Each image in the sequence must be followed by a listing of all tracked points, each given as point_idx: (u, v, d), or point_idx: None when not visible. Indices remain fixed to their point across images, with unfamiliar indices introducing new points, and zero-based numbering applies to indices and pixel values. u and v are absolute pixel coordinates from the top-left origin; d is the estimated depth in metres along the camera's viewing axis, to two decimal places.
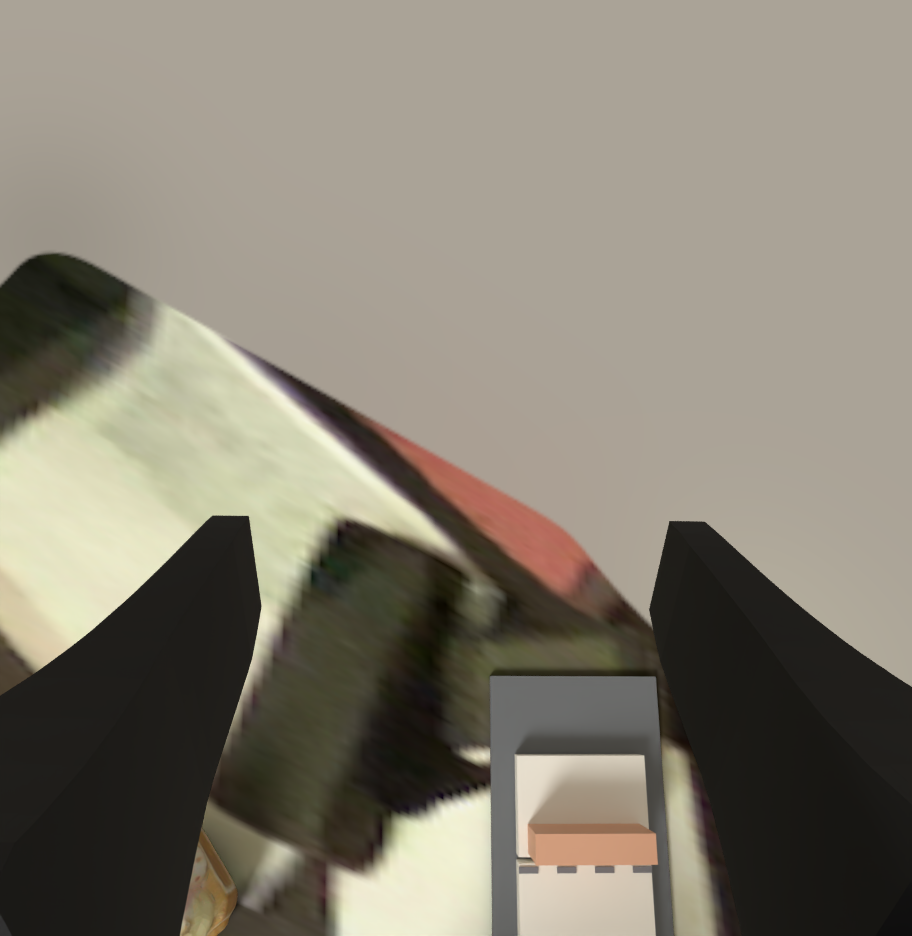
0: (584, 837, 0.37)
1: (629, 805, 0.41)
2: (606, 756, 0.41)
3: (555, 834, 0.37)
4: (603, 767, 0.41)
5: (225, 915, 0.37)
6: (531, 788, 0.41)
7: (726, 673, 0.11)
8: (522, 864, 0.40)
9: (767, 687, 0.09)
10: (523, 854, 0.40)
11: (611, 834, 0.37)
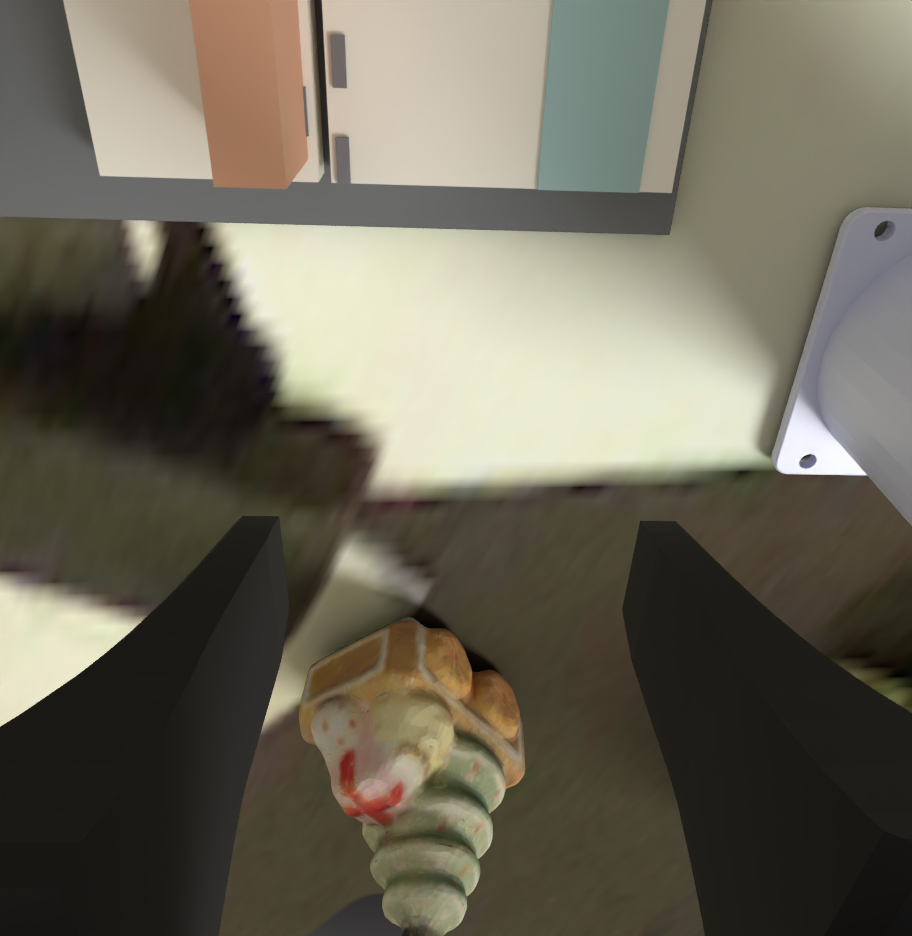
0: (202, 44, 0.13)
1: None
2: None
3: (208, 131, 0.14)
4: None
5: (412, 671, 0.24)
6: (166, 143, 0.17)
7: (691, 673, 0.11)
8: (332, 174, 0.17)
9: (728, 687, 0.09)
10: (311, 171, 0.17)
11: None
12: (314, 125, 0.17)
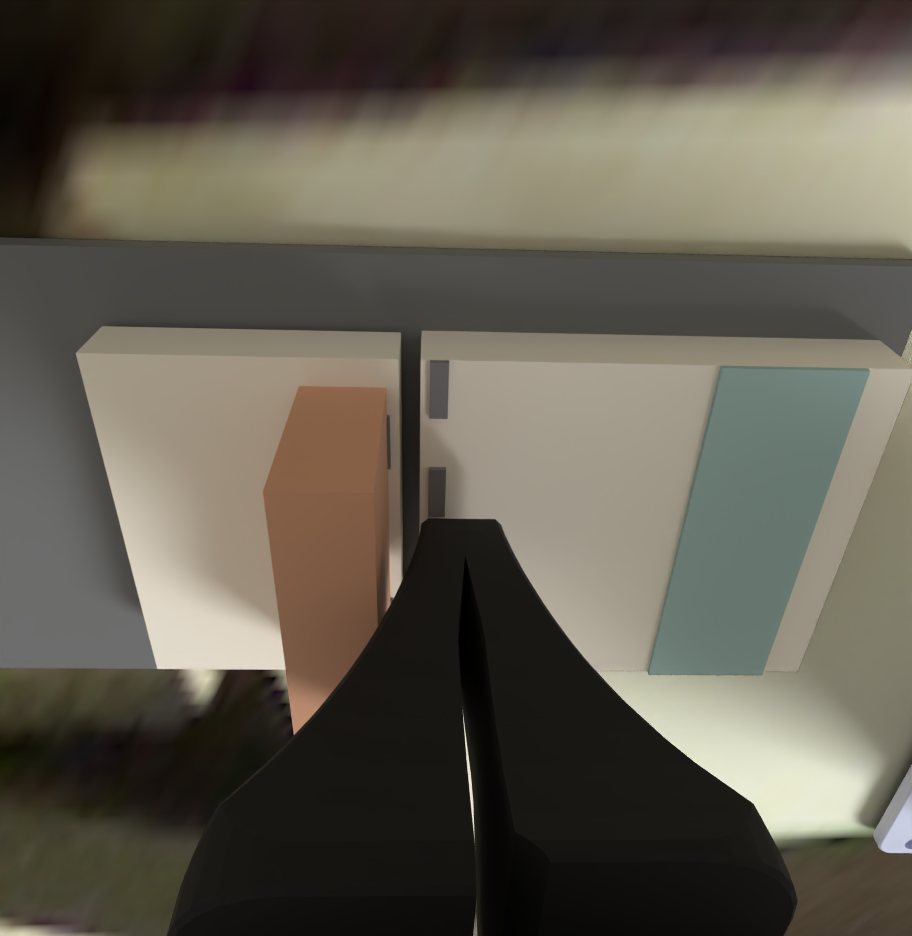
0: (297, 684, 0.12)
1: (246, 411, 0.12)
2: (108, 464, 0.13)
3: None
4: (143, 476, 0.13)
5: None
6: (233, 643, 0.15)
7: (476, 672, 0.10)
8: None
9: (485, 686, 0.09)
10: None
11: (281, 619, 0.11)
12: None
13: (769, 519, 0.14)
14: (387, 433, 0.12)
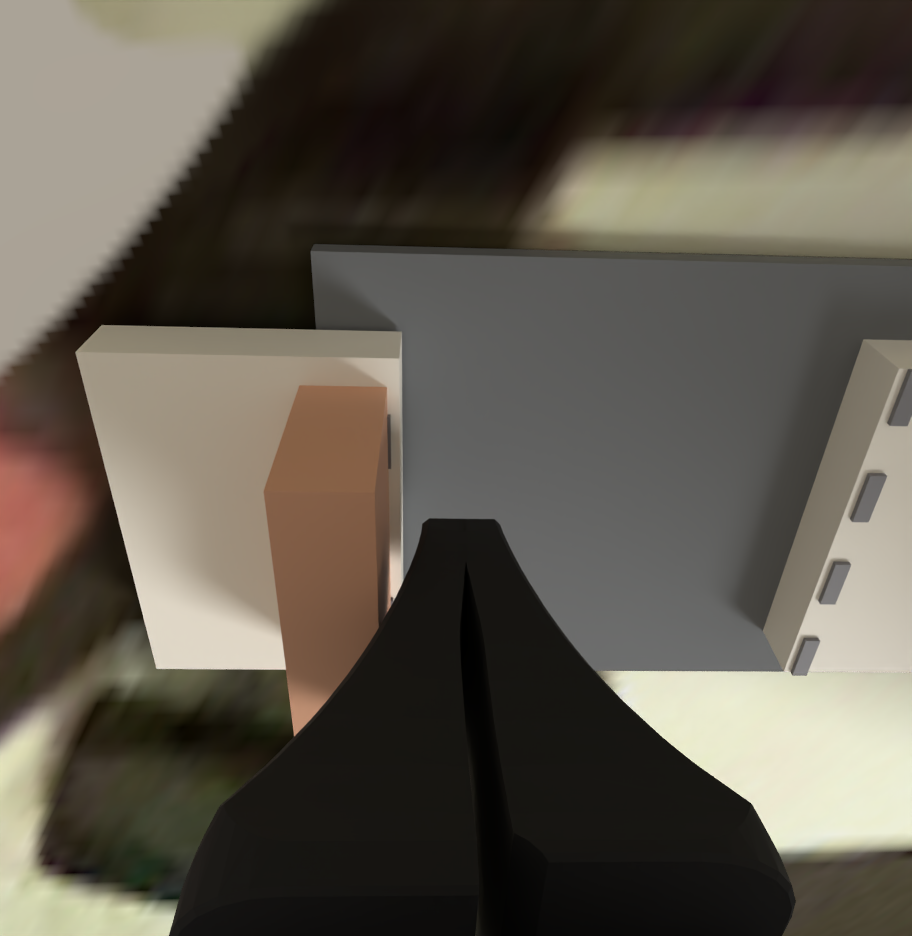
0: (297, 685, 0.11)
1: (246, 410, 0.12)
2: (108, 463, 0.13)
3: None
4: (143, 476, 0.13)
5: None
6: (232, 643, 0.15)
7: (474, 672, 0.10)
8: (787, 665, 0.16)
9: (483, 686, 0.09)
10: None
11: (282, 619, 0.11)
12: None
13: None
14: (388, 433, 0.12)
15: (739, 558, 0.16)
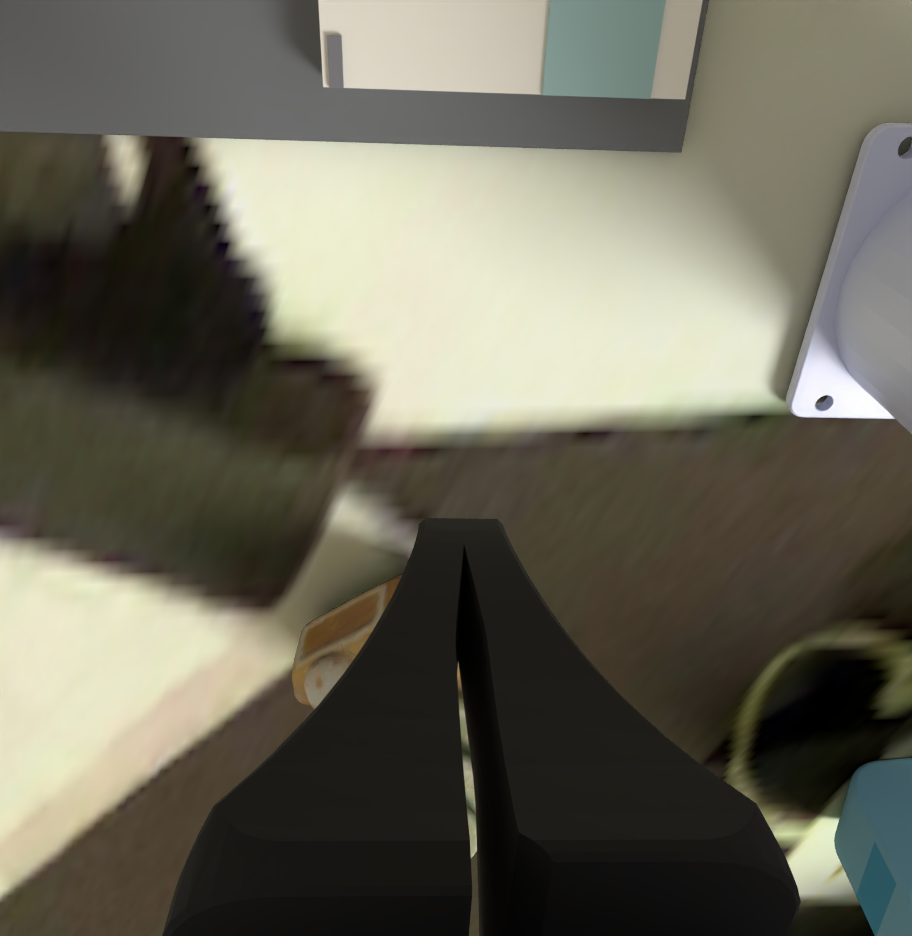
0: None
1: None
2: None
3: None
4: None
5: None
6: None
7: (477, 672, 0.10)
8: (324, 77, 0.16)
9: (487, 686, 0.09)
10: None
11: None
12: None
13: None
14: None
15: None
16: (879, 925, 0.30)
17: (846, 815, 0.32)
